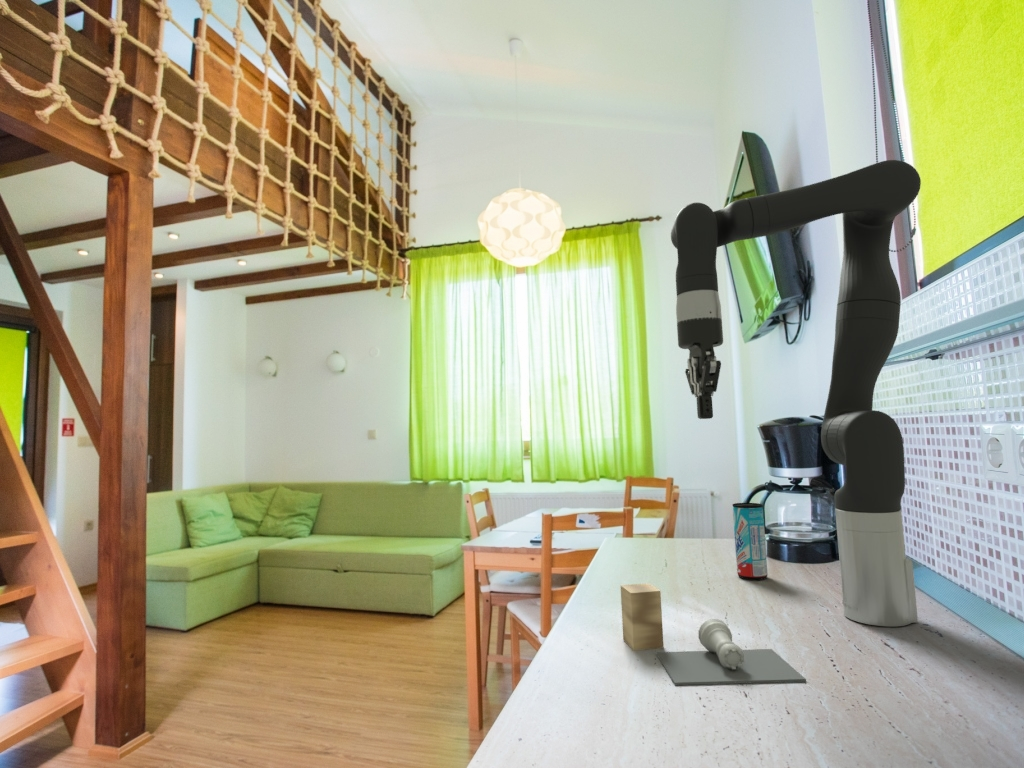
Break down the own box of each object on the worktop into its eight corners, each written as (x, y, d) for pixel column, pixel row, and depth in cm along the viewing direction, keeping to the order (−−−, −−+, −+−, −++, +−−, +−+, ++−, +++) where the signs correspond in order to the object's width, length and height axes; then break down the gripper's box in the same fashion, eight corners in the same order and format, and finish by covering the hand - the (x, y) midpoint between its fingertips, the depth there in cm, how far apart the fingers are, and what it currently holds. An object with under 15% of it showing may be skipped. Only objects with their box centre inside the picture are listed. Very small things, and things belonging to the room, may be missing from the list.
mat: (771, 651, 81) (771, 648, 81) (806, 681, 71) (805, 679, 71) (656, 654, 81) (656, 652, 81) (674, 685, 71) (674, 682, 71)
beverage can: (741, 572, 125) (736, 502, 127) (770, 575, 122) (765, 503, 123) (733, 578, 120) (728, 505, 122) (764, 582, 117) (758, 506, 118)
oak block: (651, 637, 88) (648, 583, 89) (663, 647, 84) (660, 590, 85) (623, 639, 88) (620, 585, 88) (633, 650, 83) (630, 593, 84)
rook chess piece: (725, 651, 82) (748, 680, 74) (694, 645, 82) (713, 673, 74) (731, 620, 82) (754, 646, 74) (700, 614, 82) (720, 639, 74)
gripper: (734, 311, 95) (741, 416, 94) (708, 326, 108) (714, 418, 107) (688, 312, 95) (694, 418, 94) (668, 327, 109) (673, 420, 107)
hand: (705, 418), depth 100 cm, fingers closed
